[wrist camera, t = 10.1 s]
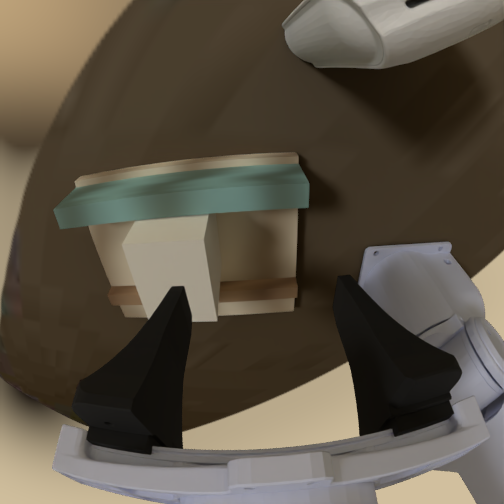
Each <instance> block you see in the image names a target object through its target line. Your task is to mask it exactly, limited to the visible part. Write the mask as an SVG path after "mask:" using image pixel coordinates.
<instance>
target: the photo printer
mask: <svg viewBox="0 0 504 504" xmlns="http://www.w3.org/2000/svg"><path fill="white" fill-rule="evenodd" d="M503 19H504V0H304V1H303V2H302V3H301V4H300V5H299V6H298V7H297V8H296V9H295V10H294V11H293V12H292V13H291V14H290V15H289V16H288V18H287V19H286V20H285V21H284V22H283V23H282V27H283V28H284V29H285V39H286V42H287V44H288V46H289V48H290V49H291V51H292V52H293V53H294V54H295V55H296V56H297V57H299V58H300V59H302V60H304V61H307V62H310V63H312V64H313V65H314V67H316V68H331V67H332V68H369V69H384V68H389V67H393V66H397V65H401V64H407V63H410V62H413V61H416V60H418V59H421V58H423V57H426V56H428V55H431V54H433V53H436V52H438V51H440V50H443V49H445V48H447V47H449V46H452V45H454V44H456V43H458V42H461V41H463V40H465V39H467V38H469V37H471V36H473V35H475V34H477V33H480V32H482V31H484V30H486V29H488V28H490V27H492V26H494V25H495V24H497V23H499V22H500V21H502V20H503Z"/></svg>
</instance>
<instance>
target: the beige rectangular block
mask: <svg viewBox="0 0 504 504" xmlns="http://www.w3.org/2000/svg"><path fill="white" fill-rule="evenodd" d="M122 247H123V250H124V253H125V256H126V259H127V262H128V265H129V268H130V271H131V274H132V277H133V280H134V283H135V286H136V288H137V291H138V294H139V296H140V299H141V302H142V304H143V307H144V310H145V312H146V315H147V317H148V320H149V318H150V317H151V316H152V314H153V313H154V311H155V310H156V309H157V307H158V306H159V304H160V303H161V301H162V300H163V298H164V297H165V295H166V294H167V292H168V291H169V289H170V288H171V287H172V286H184V287H185V291H186V295H187V299H188V302H189V306H190V310H191V313H192V322H203V321H217V320H218V305H219V292H220V279H221V266H222V261H221V253H220V245H219V236H218V228H217V219H216V213H212V214H199V215H187V216H176V217H165V218H154V219H144V220H136V221H135V222H134V224H133V226H132V227H131V229H130V231H129V233H128V234H127V236H126V238H125V240H124V241H123V243H122Z"/></svg>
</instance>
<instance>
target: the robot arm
mask: <svg viewBox="0 0 504 504" xmlns="http://www.w3.org/2000/svg"><path fill="white" fill-rule="evenodd" d="M439 247H440V248H439ZM451 248H452V245H451V243H450V242H435V243H419V244H404V245H389V246H373V247H368V248H367V249H366V250H365V252H364V257H363V262H362V267H361V272H360V276H359V281H358V283H357V282H356V281H355V280H354V279H353V278H352V277H351V276H350V275H344V276H338V278H337V285H336V291H335V297H334V302H333V311H334V316H335V321H336V325H337V328H338V331H339V334H340V337H341V340H342V343H343V346H344V349H345V352H346V356H347V359H348V362H349V365H350V369H351V373H352V379H353V384H354V390H355V397H356V403H357V412H358V420H359V434H360V436H359V437H354V438H349V439H344V440H338V441H333V442H326V443H320V444H312V445H305V446H296V447H285V448H273V449H257V450H195V449H194V450H193V449H183V442H182V394H183V378H184V371H185V366H186V360H187V355H188V349H189V344H190V338H191V329H192V313H191V310H190V306H189V302H188V299H187V295H186V291H185V287H184V286H172V287H171V288H170V289H169V291H168V292H167V294H166V295H165V297H164V298H163V300H162V301H161V303H160V304H159V306H158V307H157V309H156V310H155V311H154V313H153V314H152V316H151V317H150V318H149V320H148V321H147V322H146V324H145V325H144V326H143V327H142V329H141V330H140V331H139V332H138V334H137V335H136V336H135V337H134V338H133V339H132V340H131V341H130V342H129V344H128V345H127V346H126V347H125V348H124V349H123V350H121V351H120V352H119V353H118V354H117V355H116V356H115V357H114V358H113V359H111V360H110V361H109V362H108V363H107V364H105V365H104V366H103V367H101V368H100V369H99V370H97V371H96V372H94V373H93V374H91V375H90V376H88V377H87V378H85V379H83V380H82V381H80V382H79V385H78V387H77V390H76V393H75V397H74V400H73V403H72V409H73V411H74V412H75V413H76V414H77V415H78V416H79V417H80V418H81V419H82V420H83V421H85V422H86V423H87V424H88V425H89V430H88V431H86V430H84V429H81V428H78V427H73V426H69V425H65V424H63V426H62V429H61V432H60V437H59V440H58V444H57V449H56V453H55V457H54V461H53V466H52V469H53V470H55V471H57V472H59V473H61V474H62V475H65V476H66V477H68V478H70V479H73V480H75V481H77V482H79V483H81V484H84V485H88V486H91V487H94V488H98V489H101V490H105V491H109V492H113V493H117V494H121V495H125V496H129V497H134V498H138V499H143V500H148V501H153V502H158V503H165V504H378V503H377V498H376V492H375V490H378V489H381V488H385V487H388V486H391V485H394V484H397V483H399V482H403V481H405V480H408V479H411V478H413V477H416V476H419V475H421V474H424V473H426V472H428V471H431V470H440V471H450V472H457V473H459V475H460V476H461V478H462V480H463V481H464V483H465V485H466V486H467V488H468V490H469V491H470V493H471V495H472V496H473V498H474V500H475V501H476V503H477V504H504V341H503V339H502V338H501V336H500V335H499V334H498V332H497V331H496V330H495V329H494V327H493V326H492V325H491V324H490V323H489V322H488V321H487V320H486V319H485V308H484V302H483V299H482V296H481V294H480V292H479V290H478V289H477V287H476V286H475V285H474V283H473V282H472V280H471V279H470V278H469V276H468V275H467V274H466V273H465V271H464V270H463V269H462V267H461V266H460V265H459V264H458V262H457V261H456V260H455V259H454V257H453V256H452V255H451V254H450V251H451ZM375 251H377V252H376V253H374V252H375Z"/></svg>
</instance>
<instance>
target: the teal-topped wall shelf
mask: <svg viewBox="0 0 504 504" xmlns="http://www.w3.org/2000/svg"><path fill="white" fill-rule="evenodd" d="M75 185H76V188H75V189H74V190H73V191H72V192H71V193H70V194H69V195H68V196H67V197H66V198H65V199H64V200H63V201H62V202H61V203H59V204H58V205H57V206H56V207H55V208H54V209H53V210H54V213H55V216H56V219H57V221H58V224H59V227H60V229H66V228H74V227H82V226H89V229H90V232H91V235H92V238H93V241H94V243H95V246H96V249H97V251H98V254H99V257H100V259H101V262H102V264H103V267H104V269H105V272H106V274H107V277H108V279H109V281H110V284H111V288H110V291H109V293H108V295H107V296H108V298H109V300H110V302H111V304H112V305H120V306H121V309H122V311H123V313H124V315H125V317H147V315H146V312H145V310H144V307H143V304H142V302H141V299H140V296H139V294H138V291H137V288H136V286H135V283H134V280H133V277H132V274H131V271H130V268H129V265H128V262H127V259H126V256H125V253H124V250H123V247H122V243H123V241H124V240H125V238H126V236H127V234H128V233H129V231H130V229H131V227H132V226H133V224H134V222H135V221H136V220H144V219H154V218H165V217H176V216H187V215H199V214H212V213H216V219H217V228H218V236H219V245H220V253H221V261H222V266H221V279H220V292H219V305H218V316H220V315H241V314H258V313H273V312H287V311H294V299H295V298H297V292H298V285H297V281H296V256H297V227H298V208H309V182H308V180H307V178H306V176H305V174H304V173H303V171H302V169H301V167H300V165H299V156H298V155H297V153H296V152H285V153H262V154H245V155H231V156H218V157H207V158H197V159H188V160H179V161H171V162H163V163H156V164H149V165H142V166H135V167H129V168H123V169H117V170H112V171H106V172H101V173H95V174H90V175H85V176H80V177H79V178H78V179H77V180H76V181H75Z"/></svg>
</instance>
